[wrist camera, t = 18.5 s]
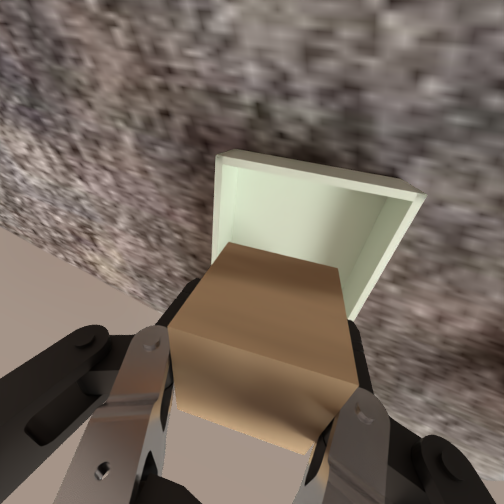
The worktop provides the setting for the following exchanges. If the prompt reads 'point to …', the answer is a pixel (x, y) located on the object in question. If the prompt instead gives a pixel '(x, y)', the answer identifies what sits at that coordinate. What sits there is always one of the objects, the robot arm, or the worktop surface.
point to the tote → (313, 215)
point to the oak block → (264, 347)
